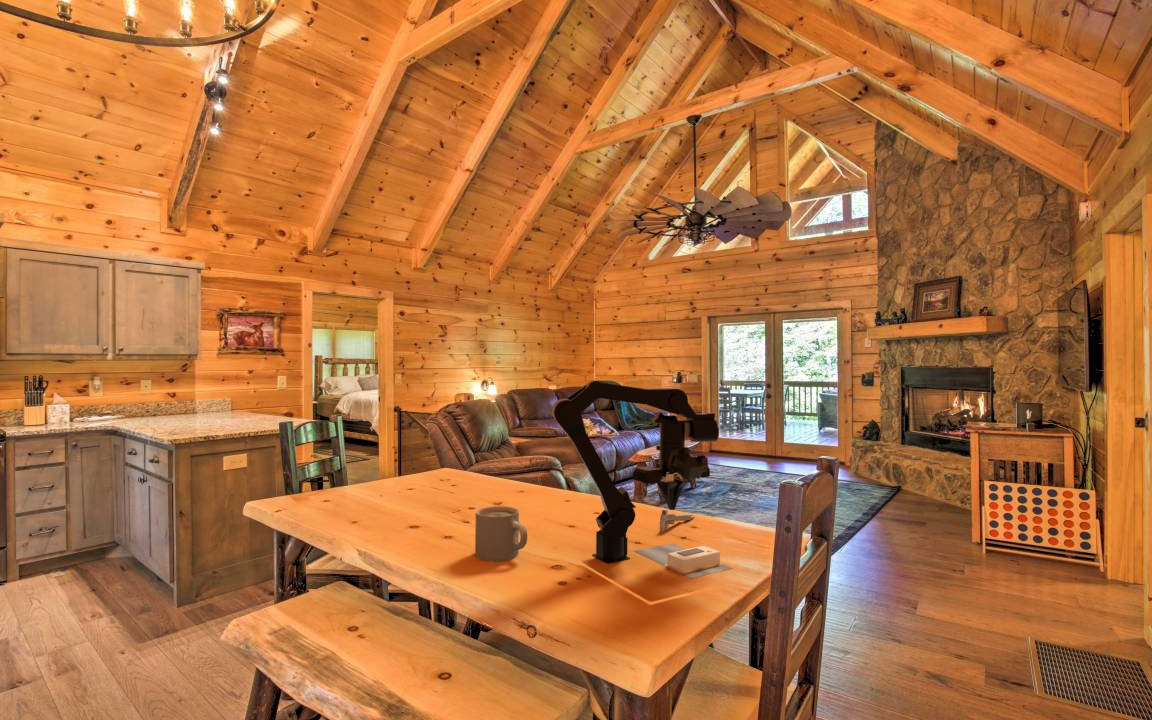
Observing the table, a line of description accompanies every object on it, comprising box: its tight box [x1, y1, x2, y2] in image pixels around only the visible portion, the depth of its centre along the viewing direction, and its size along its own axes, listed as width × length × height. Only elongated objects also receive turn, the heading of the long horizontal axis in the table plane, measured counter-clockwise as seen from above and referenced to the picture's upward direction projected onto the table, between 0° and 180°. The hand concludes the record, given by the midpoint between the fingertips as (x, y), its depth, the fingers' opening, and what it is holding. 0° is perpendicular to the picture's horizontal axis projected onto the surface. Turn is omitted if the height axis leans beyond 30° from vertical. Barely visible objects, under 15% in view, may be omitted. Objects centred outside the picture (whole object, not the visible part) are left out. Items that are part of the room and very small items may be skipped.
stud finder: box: [667, 545, 721, 572], centre depth 125 cm, size 11×5×3 cm, turn 122°
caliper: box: [659, 509, 696, 533], centre depth 158 cm, size 20×1×6 cm, turn 145°
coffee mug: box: [474, 505, 528, 563], centre depth 131 cm, size 13×10×10 cm
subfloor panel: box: [633, 542, 733, 579], centre depth 128 cm, size 12×20×1 cm, turn 31°
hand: (671, 509), depth 131 cm, fingers closed
